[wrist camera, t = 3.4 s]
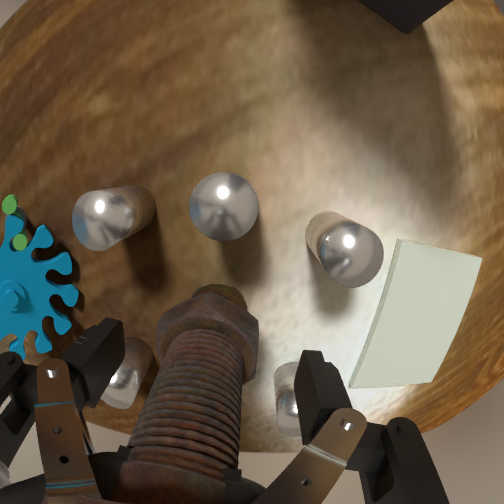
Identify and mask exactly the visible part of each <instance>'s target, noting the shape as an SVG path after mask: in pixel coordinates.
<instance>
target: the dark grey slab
mask: <svg viewBox="0 0 504 504" xmlns="http://www.w3.org/2000/svg"><path fill="white" fill-rule="evenodd" d="M359 1H361V2H362V3H364V4H365V5H367V6H368V7H370V8H371V9H372V10H374V11H375V12H377V13H378V14H379V15H381V16H382V17H384V18H385V19H386V20H387V21H389V22H390V23H391V24H393V25H394V26H395V27H396V28H398V29H399V30H400V31H402V32H403V33H410V32H411V31H413V30H414V29H415V28H417V27H418V26H419V25H420V24H422V23H423V22H424V21H426V20H427V19H428V18H430V17H431V16H432V15H434V14H435V13H436V12H438V11H439V10H441V9H442V8H443V7H445V6H446V5H448V4H449V3H450V2H452V1H453V0H359Z"/></svg>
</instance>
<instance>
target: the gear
mask: <svg viewBox="0 0 504 504" xmlns="http://www.w3.org/2000/svg"><path fill="white" fill-rule="evenodd" d="M17 205H18V200H17V198H16V196H14V195H9V196H7V197H6V198H5V199H4V201H3V203H2V209H3V211H4V213H6V218H5V230H4V242H3V244H2V246H1V248H0V340H1V339H2V338H3V337H5V336H6V335H8V334H15V335H16V336H17V339H15V340H14V341H12V342H11V343H10V345H9V351H13V352H16V353H18V354H20V355H21V357H22V360H24V359H25V348H24V345H23V342H24V338H25V336H26V334H27V332H28V331H30V330H34V331H36V332H37V333H38V334H37V336H36V338H35V345H36V350H37V351H38V352H39V353H45V352H48V351H51V350H52V345H51V341H50V338H49V337H48V336H47V335H46V333H45V332H44V330H43V328H42V319H43V318H44V317H45V316H51V317H53V318H54V326H55V329H56V331H57V333H58V334H60V335H63V334H65V333H66V332H67V331H68V330H69V329H70V328H71V326H72V325H71V322H70V319H69V317H68V316H67V315H65V314H63V313H60V312H58V311H57V310H56V309H55V308H54V307H53V306H52V304H51V303H50V301H49V298H50V296H51V295H53V294H58V295H60V296H61V297H62V299H63V301H64V303H65V304H66V305H67V306H70V307H73V306H74V305H75V304H76V302H77V299H78V294H79V292H78V289H77V288H76V286H74V285H72V284H68V285H59V284H56V283H54V282H52V281H50V280H49V279H47V278H46V276H45V275H46V272H47V271H48V270H50V269H55V270H57V271H58V272H59V273H61V274H63V275H68V274H70V273H71V272H72V263H71V259H70V256H69V253H68V252H61V253H59V254H58V255H57V256H56V257H54V258H52V259H49V260H36V259H34V258H33V257H32V255H31V252H32V251H33V249H35V248H48V247H50V246H51V245H52V243H53V241H54V240H53V237H52V234H51V233H50V231H49V230H48V228H47V227H46V226H45V225H41V226H39V227H38V229H37V230H36V233H35V235H34V237H33V238H32V240H31V241H30V242H29V243H28V244H27V233H26V232H25V229H26V221H27V215H26V212H25V210H24V209H23V208H22V207H20V206H17Z"/></svg>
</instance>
